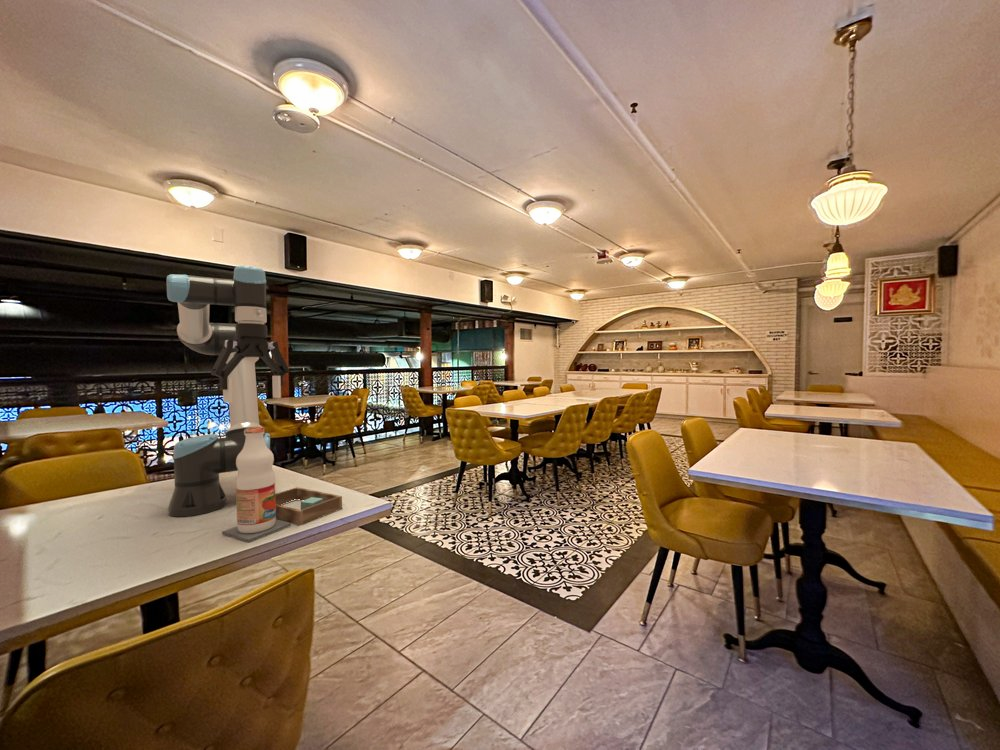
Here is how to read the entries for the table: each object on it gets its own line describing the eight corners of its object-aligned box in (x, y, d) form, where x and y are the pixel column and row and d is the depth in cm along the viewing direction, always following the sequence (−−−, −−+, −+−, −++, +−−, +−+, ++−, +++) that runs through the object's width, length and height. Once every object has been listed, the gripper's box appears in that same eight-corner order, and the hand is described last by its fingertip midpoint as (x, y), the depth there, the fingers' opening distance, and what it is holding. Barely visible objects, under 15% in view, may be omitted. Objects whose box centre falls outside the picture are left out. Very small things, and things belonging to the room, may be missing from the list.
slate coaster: (222, 534, 111) (222, 531, 111) (265, 519, 122) (265, 516, 122) (248, 542, 105) (248, 539, 105) (290, 526, 116) (290, 523, 116)
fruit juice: (240, 524, 116) (237, 427, 115) (277, 518, 120) (274, 424, 119) (234, 536, 107) (231, 432, 106) (274, 530, 111) (272, 429, 110)
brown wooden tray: (254, 513, 127) (253, 500, 126) (297, 498, 140) (297, 487, 140) (300, 525, 116) (299, 511, 116) (342, 508, 130) (341, 496, 130)
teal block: (301, 516, 124) (300, 501, 124) (312, 511, 128) (311, 497, 128) (312, 517, 122) (312, 503, 122) (323, 512, 127) (323, 498, 126)
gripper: (209, 318, 99) (212, 404, 100) (300, 326, 121) (302, 396, 122) (193, 320, 103) (195, 403, 103) (284, 327, 125) (286, 396, 125)
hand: (253, 400), depth 113 cm, fingers open, 13 cm apart
